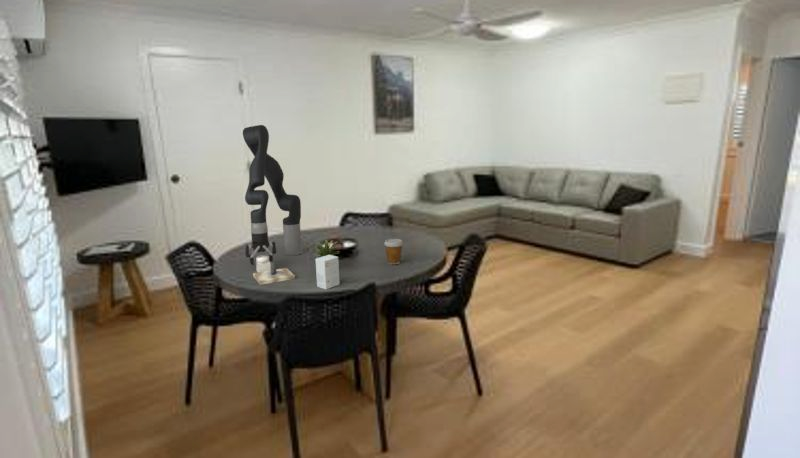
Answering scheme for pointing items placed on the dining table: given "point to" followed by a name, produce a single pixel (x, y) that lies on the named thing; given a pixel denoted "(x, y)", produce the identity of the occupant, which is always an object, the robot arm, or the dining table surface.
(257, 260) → the knob
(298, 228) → the robot arm
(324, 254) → the house plant
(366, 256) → the dining table surface
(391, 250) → the disposable coffee cup
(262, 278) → the dial board
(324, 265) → the small box
